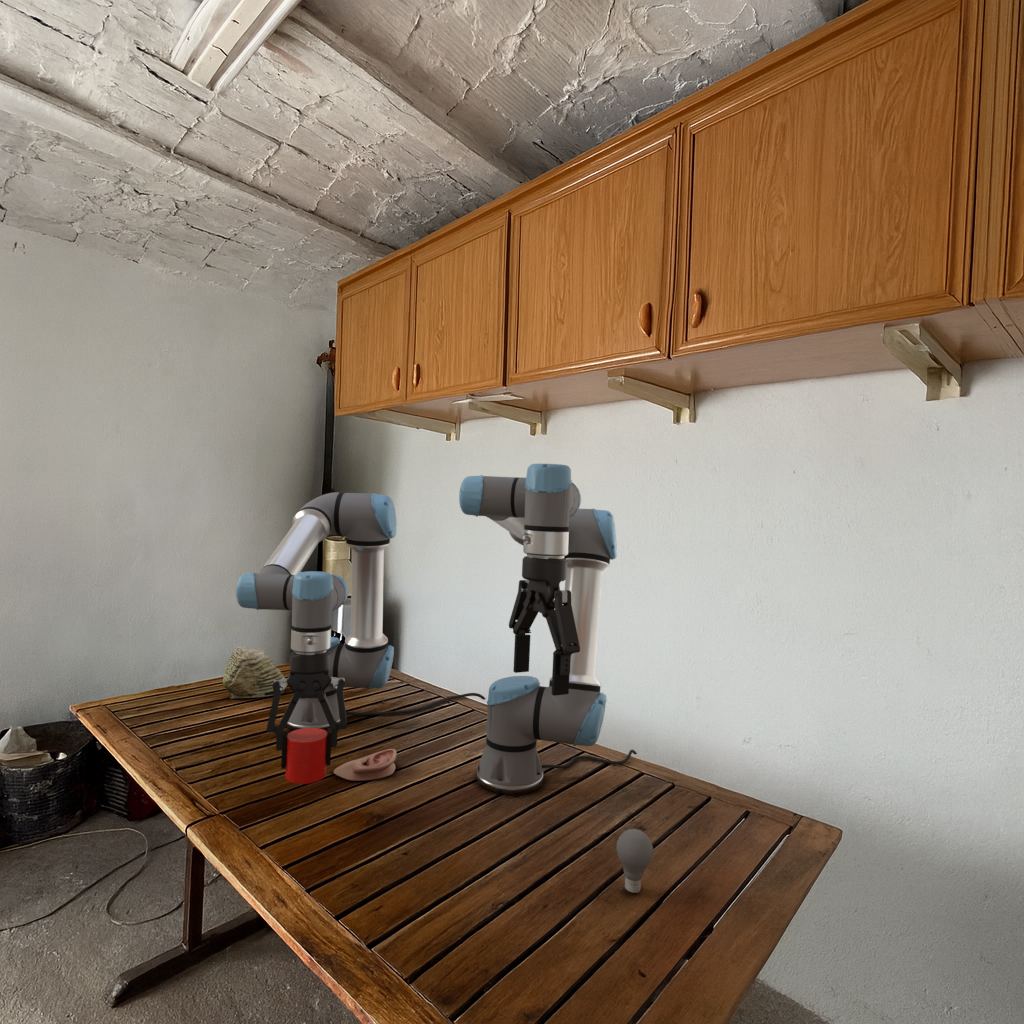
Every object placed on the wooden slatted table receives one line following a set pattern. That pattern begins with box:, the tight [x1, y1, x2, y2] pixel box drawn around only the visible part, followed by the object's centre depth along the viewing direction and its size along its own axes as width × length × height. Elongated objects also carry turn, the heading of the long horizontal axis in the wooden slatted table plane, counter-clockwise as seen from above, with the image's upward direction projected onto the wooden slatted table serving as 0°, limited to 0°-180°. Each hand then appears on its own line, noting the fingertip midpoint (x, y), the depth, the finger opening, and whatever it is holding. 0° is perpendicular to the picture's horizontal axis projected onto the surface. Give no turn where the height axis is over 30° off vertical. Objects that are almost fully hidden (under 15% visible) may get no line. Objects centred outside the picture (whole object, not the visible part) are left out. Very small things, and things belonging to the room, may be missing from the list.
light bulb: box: [615, 828, 654, 894], centre depth 106 cm, size 6×6×10 cm
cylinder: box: [284, 728, 328, 785], centre depth 126 cm, size 8×8×8 cm
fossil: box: [222, 646, 288, 699], centre depth 198 cm, size 9×18×15 cm, turn 132°
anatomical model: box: [333, 748, 397, 782], centre depth 147 cm, size 13×4×12 cm
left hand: (306, 764), depth 126 cm, fingers closed on cylinder, 8 cm apart
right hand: (539, 682), depth 106 cm, fingers open, 13 cm apart
